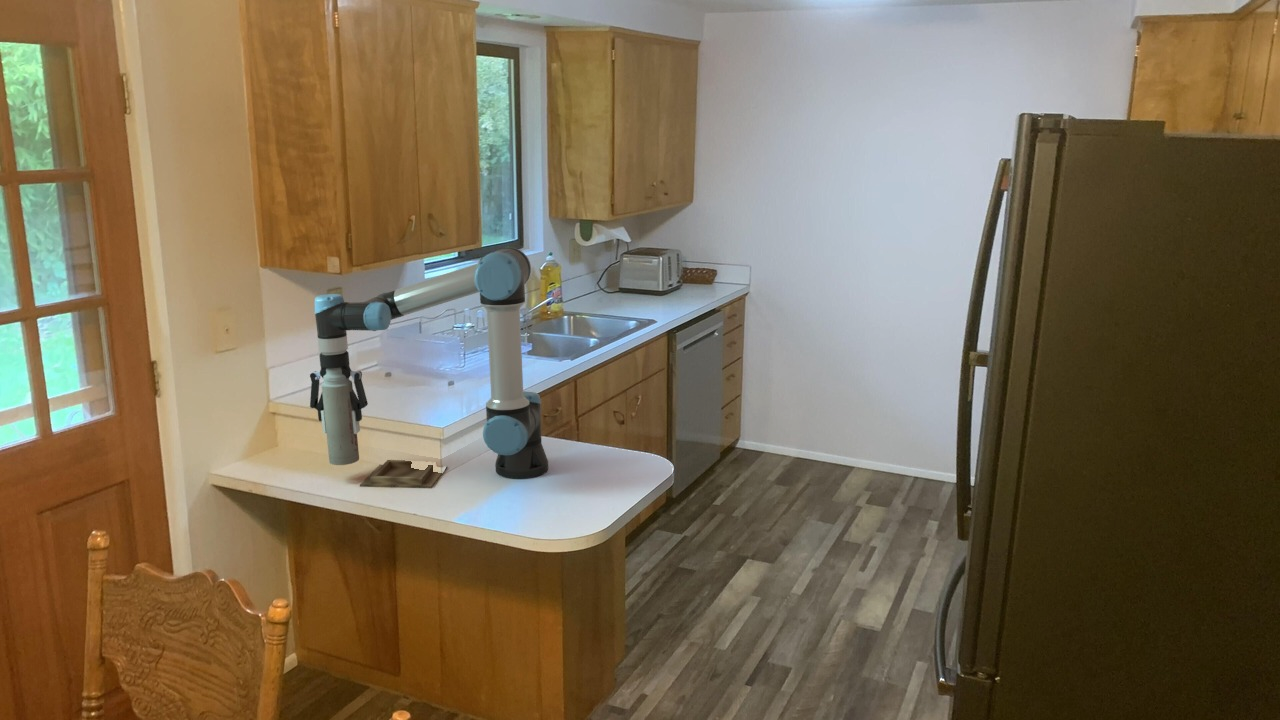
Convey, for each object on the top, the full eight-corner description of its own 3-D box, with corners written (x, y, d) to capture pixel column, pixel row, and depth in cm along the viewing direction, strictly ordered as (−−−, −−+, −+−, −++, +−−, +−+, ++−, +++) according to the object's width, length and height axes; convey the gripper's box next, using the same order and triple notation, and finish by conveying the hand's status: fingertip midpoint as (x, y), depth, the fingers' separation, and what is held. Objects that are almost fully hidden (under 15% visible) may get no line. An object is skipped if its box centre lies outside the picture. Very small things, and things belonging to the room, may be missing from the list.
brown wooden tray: (447, 468, 267) (446, 460, 267) (431, 488, 252) (430, 480, 251) (379, 466, 269) (379, 458, 268) (359, 486, 253) (359, 478, 253)
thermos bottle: (364, 456, 259) (355, 359, 253) (350, 466, 251) (340, 366, 245) (338, 455, 261) (329, 358, 254) (323, 464, 253) (313, 365, 247)
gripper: (376, 348, 252) (383, 428, 257) (302, 348, 253) (310, 428, 259) (366, 354, 245) (373, 436, 250) (290, 354, 246) (299, 436, 251)
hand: (341, 432), depth 254 cm, fingers closed on thermos bottle, 8 cm apart
